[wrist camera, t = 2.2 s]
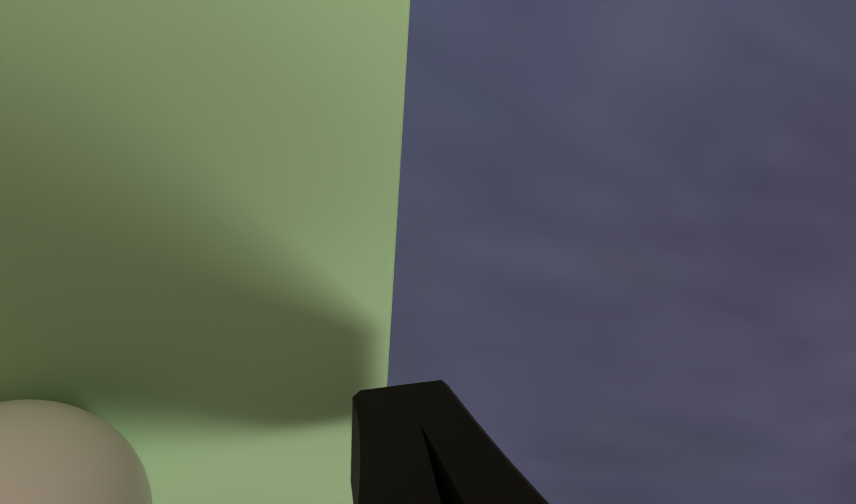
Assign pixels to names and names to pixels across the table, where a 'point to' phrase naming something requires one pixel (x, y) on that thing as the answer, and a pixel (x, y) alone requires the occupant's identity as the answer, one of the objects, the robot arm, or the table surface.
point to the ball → (66, 457)
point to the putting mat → (203, 229)
